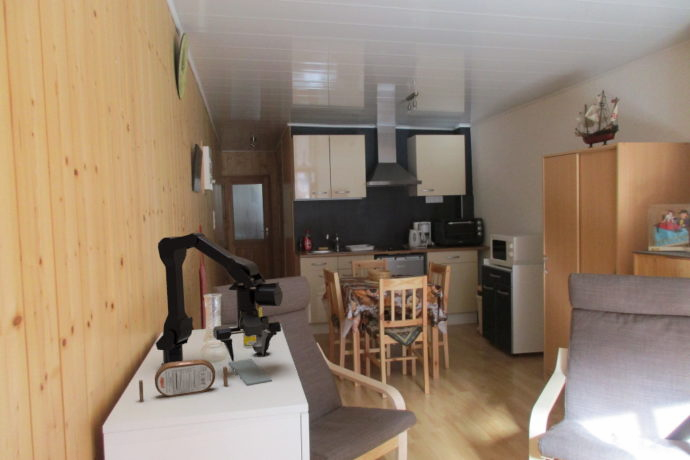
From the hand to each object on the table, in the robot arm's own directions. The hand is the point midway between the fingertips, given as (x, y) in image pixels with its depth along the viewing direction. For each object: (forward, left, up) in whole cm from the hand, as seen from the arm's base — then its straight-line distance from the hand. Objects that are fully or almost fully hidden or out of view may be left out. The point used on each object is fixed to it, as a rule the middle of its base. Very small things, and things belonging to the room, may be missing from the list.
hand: (248, 358), depth 143 cm
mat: (0, 0, -4) cm, 4 cm away
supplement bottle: (-27, +8, -4) cm, 28 cm away
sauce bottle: (-44, +14, -4) cm, 46 cm away
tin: (+8, -19, -4) cm, 21 cm away
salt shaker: (-15, +8, -4) cm, 18 cm away
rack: (+8, -19, -4) cm, 21 cm away
